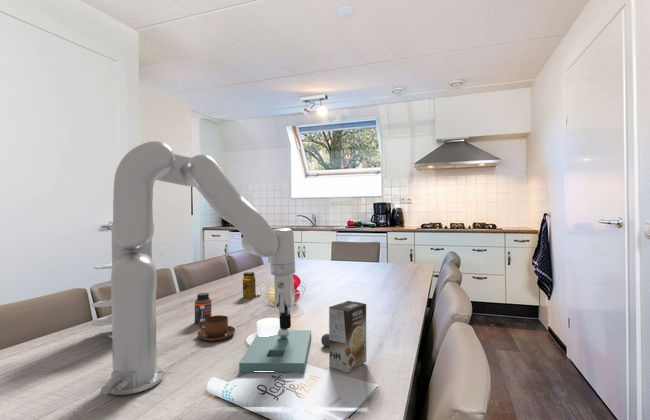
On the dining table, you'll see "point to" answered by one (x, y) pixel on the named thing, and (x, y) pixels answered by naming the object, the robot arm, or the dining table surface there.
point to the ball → (283, 333)
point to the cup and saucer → (215, 328)
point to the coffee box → (347, 336)
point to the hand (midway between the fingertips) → (285, 327)
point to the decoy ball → (325, 340)
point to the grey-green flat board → (277, 353)
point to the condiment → (249, 285)
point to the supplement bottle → (202, 308)
